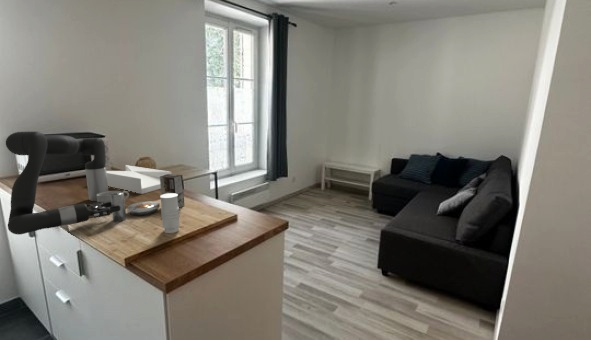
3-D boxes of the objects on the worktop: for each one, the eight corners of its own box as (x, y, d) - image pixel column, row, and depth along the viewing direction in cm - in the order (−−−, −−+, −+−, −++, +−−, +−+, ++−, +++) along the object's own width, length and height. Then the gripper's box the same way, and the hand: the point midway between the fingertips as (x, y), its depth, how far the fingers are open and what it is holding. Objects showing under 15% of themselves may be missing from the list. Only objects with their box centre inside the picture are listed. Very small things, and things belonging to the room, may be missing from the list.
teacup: (97, 213, 148) (95, 197, 147) (99, 206, 158) (97, 191, 156) (130, 208, 155) (128, 193, 153) (130, 202, 164) (128, 188, 162)
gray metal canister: (110, 220, 140) (107, 194, 137) (122, 216, 144) (119, 191, 141) (117, 222, 137) (114, 196, 135) (128, 218, 141) (126, 193, 139)
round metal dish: (121, 213, 148) (120, 207, 148) (148, 205, 160) (147, 199, 159) (139, 218, 141) (139, 212, 141) (166, 210, 153) (165, 204, 152)
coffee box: (185, 205, 161) (183, 174, 157) (176, 209, 155) (174, 177, 151) (170, 203, 164) (168, 173, 160) (161, 207, 158) (159, 176, 154)
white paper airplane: (94, 185, 200) (93, 170, 198) (126, 178, 219) (125, 164, 217) (142, 194, 180) (140, 178, 178) (172, 186, 200) (171, 171, 198)
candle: (182, 231, 128) (179, 196, 125) (164, 235, 124) (161, 199, 121) (178, 225, 134) (176, 192, 131) (161, 229, 130) (158, 194, 127)
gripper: (75, 210, 122) (121, 201, 133) (68, 201, 132) (111, 194, 143) (78, 227, 124) (123, 217, 135) (71, 218, 133) (113, 209, 145)
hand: (117, 205), depth 139 cm, fingers open, 8 cm apart
